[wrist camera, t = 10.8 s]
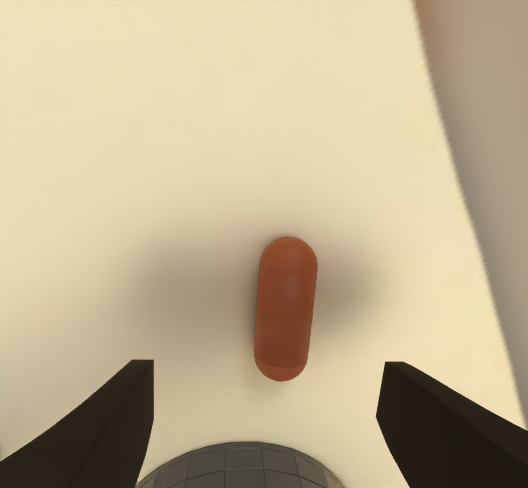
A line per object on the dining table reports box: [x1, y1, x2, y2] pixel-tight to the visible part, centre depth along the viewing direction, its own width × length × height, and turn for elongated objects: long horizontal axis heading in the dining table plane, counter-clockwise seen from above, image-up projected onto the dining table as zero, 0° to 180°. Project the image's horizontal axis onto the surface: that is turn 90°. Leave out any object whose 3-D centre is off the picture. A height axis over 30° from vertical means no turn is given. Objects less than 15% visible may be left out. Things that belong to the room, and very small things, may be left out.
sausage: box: [254, 237, 317, 381], centre depth 18 cm, size 8×3×3 cm, turn 176°
